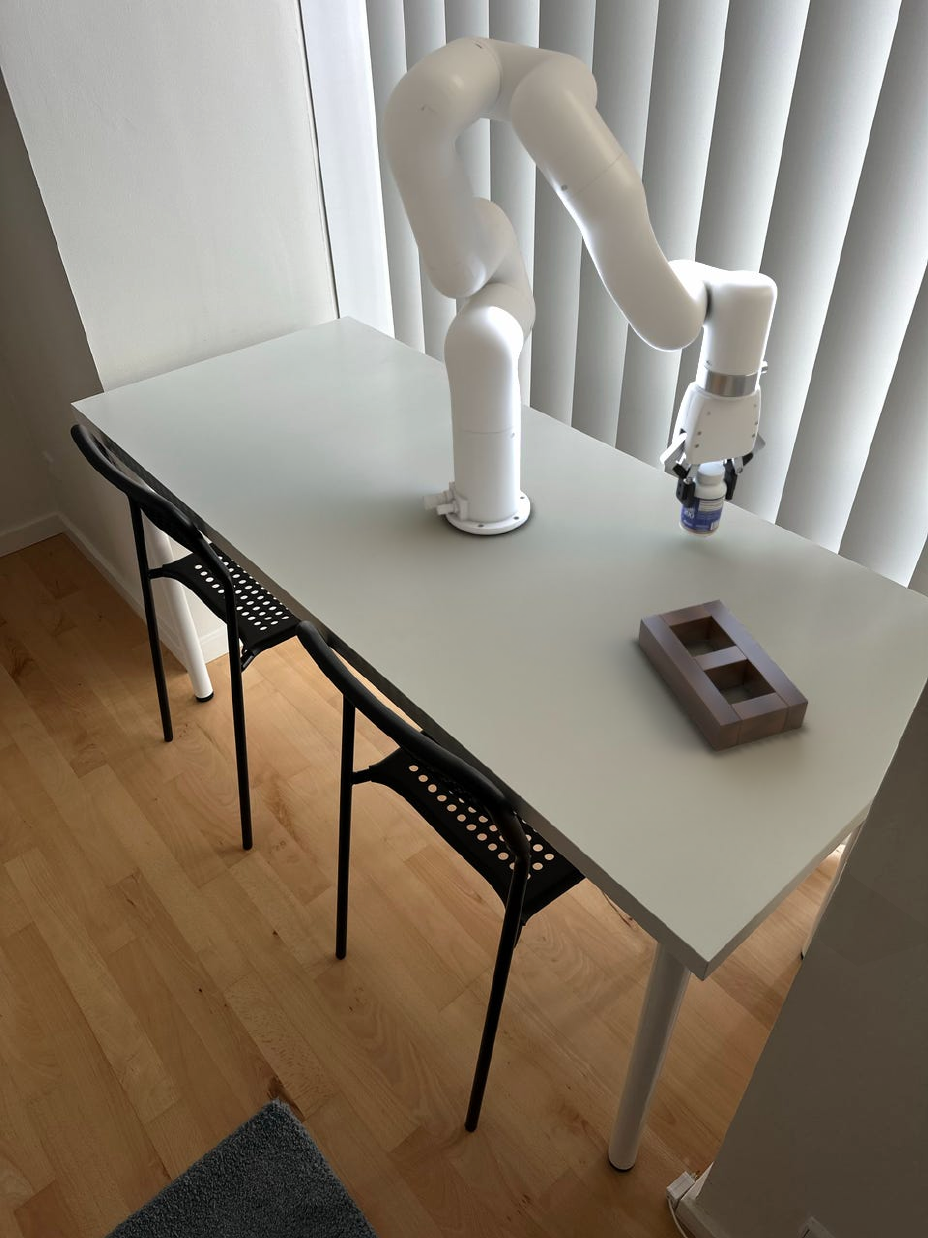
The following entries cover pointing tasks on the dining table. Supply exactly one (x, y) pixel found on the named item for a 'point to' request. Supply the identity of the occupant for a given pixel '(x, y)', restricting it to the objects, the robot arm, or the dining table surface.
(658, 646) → the stand
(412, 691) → the dining table surface
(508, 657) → the dining table surface
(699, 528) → the pill bottle
